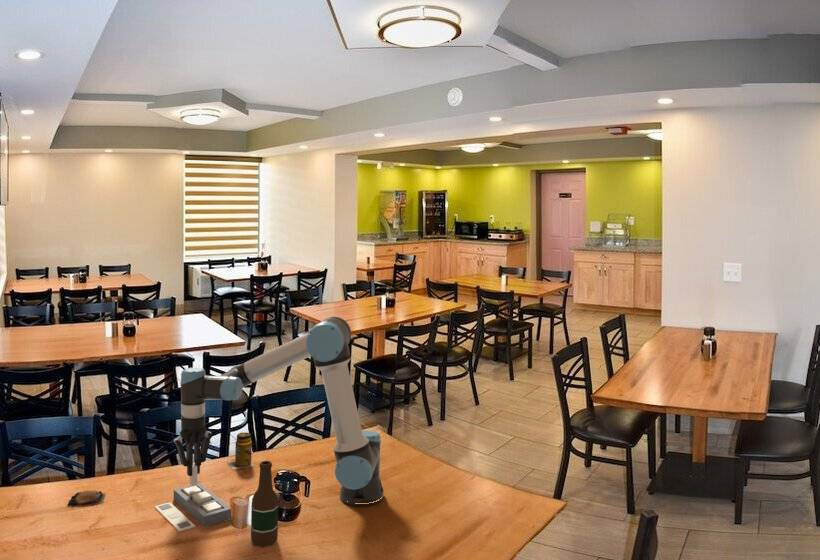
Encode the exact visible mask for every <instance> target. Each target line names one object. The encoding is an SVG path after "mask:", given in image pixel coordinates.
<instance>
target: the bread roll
mask: <svg viewBox="0 0 820 560" xmlns="http://www.w3.org/2000/svg"><path fill="white" fill-rule="evenodd" d="M105 497H106V493H105V492H104V493H103V492H102V491H101V490H85V491H79V492H76V493H75V494H74V495H71V498H70V499H69V500H68V502H67V506H68V507H81V506H92V505H97V504H104V501H105Z"/></svg>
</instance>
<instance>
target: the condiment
mask: <svg viewBox="0 0 820 560" xmlns="http://www.w3.org/2000/svg"><path fill="white" fill-rule="evenodd" d="M252 446H253V441H252V435H251V433H250V432H239V433H238V434H236V441H235V448H234V449H235V452H234V453H235V454H234V455H235V456H234V457H235V459H234V461H229V462H227V465H228V466H229V467H230V469H232V470H239V469H246V468H251V467H255V466H256V465H255V464H254V463H253V462H252V456H253V455H252V452H253V451H252Z"/></svg>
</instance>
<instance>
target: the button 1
mask: <svg viewBox="0 0 820 560" xmlns="http://www.w3.org/2000/svg"><path fill="white" fill-rule="evenodd" d="M200 492H202V490H201V489H199V488H198V487H197V486H193V487H189V488H185V489H183V493H184V494H185V495H186V496H190V495H193V494H196V493H200Z"/></svg>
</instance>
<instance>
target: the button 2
mask: <svg viewBox="0 0 820 560" xmlns="http://www.w3.org/2000/svg"><path fill="white" fill-rule="evenodd" d="M220 509H222V507H221V506H220V505H219V504H218V503H216V502H213V503H209V504H206V505H202V510H204V511H205V512H206V513H210V512H213V511H217V510H220Z"/></svg>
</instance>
